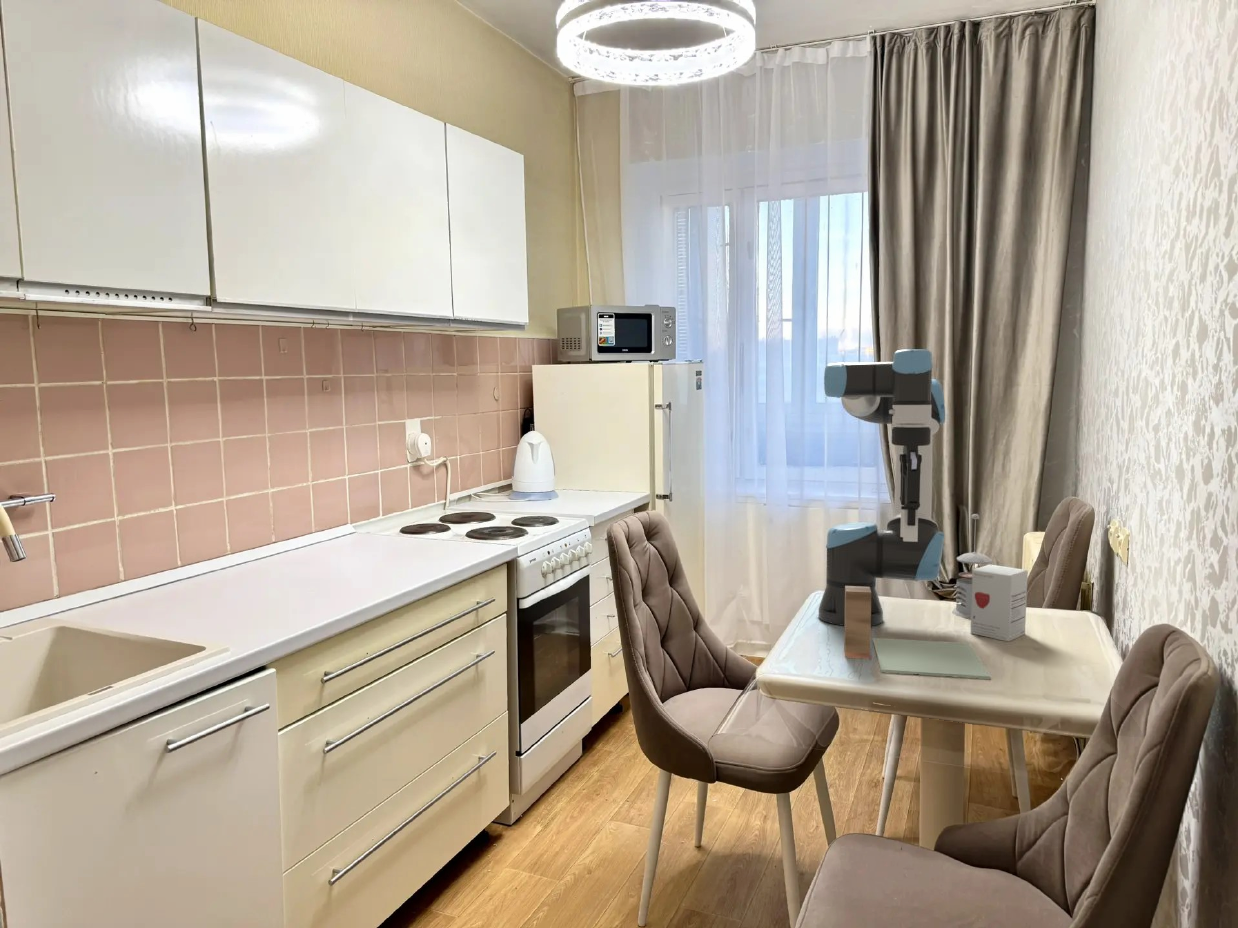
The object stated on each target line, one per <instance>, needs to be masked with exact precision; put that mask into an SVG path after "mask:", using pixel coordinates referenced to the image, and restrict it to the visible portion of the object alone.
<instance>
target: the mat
mask: <svg viewBox="0 0 1238 928" xmlns="http://www.w3.org/2000/svg"><path fill="white" fill-rule="evenodd" d="M872 642H873V646H874V651H875V654H876V659H877V661H878V662H877V663H878V665H879V669H880V673H881V672H888V673H887V674H897V673H899V674H901V675H913V674H919V675H918V676H931V677H945V676H953V677H952V678H960V677H963V679H976V678H978V679H980V680H981V679H982V680H991V677H992V676H991V674H989V672H988V670H987V668H986V667H985V665H984V664H983V663H982V660H981V659H980V658H979V656H978V654H977V653H976V652H975V650H974V649H973V647H972V645H971V644H970V643H969V642H952V641H935V640H934V641H933V640H915V639H897V638H880V637H872ZM899 674H898V675H899ZM955 676H956V677H955ZM964 677H965V678H964Z"/></svg>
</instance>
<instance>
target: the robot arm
mask: <svg viewBox="0 0 1238 928" xmlns="http://www.w3.org/2000/svg"><path fill="white" fill-rule="evenodd" d="M933 364H934V363H933V355H932V352H931V350H929V349H899V350H896V351H895V352H894V354H893V360H892V361H884V362H883V361H879V362H878V361H877V362H843V361H841V362H836V363H835V362H834V363H828V364H826V366H825V368H824V372H823V373H824V375H823V385H824V387H823V389H824V394H825V395H826V396H827V397H828V398H829V397H830V398H836V399H841V400H840V402H841V404H842V406H843V409H844V410H845V411H846V412H847V413H848V414H849V415H850V416H852V417H854V418H855V419H857V420H858V419H859V420H861V421H864V422H868V423H872V424H879V425H880V424H881V425H882V424H883V425H888V424H889V425H890V429H891V444H892V445H893V446H895V447H896V448H895V449H896V451H895V475H894V476H895V477H894V478H895V479H894V502H893V503H894V507H893V517H892V518H890V519H889V520H888V521H887V524H886V529H878V525H877V524H876V523H875V522H868V521H862V522H861V521H859V522H849V523H843V524H838V525H835V526H832V527H831V528H829V529H828V531H827V535H826V545H825V548H826V572H825V573H826V575H825V576H826V581H825V582H826V585H825V588H824V592H823V595H822V597H821V600H820V603H819V606H818V618H819V620H821V621H823V622H826V623H829V624H832V625H837V626H844V625H845V586H861V587H870V590H871V627H872V626H875V625H879V624H881V623H883V621H884V612H883V607H882V604H881V601H880V597H879V594H878V592H877V579H885V580H886V579H887V580H899V581H900V580H903V581H913V582H914V581H915V582H920V581H921V582H923V581H924V582H929V581H931V582H933V581H935V580H937V579H938V576H939V574H940V569H941V563H942V556H943V548H944V543H945V542H944V541H945V533H944V532H942V531H940V530H939V524H938V523H937V522H936V521H935V520H934V519H932V505H933V504H932V503H933V502H932V501H933V499H932V495H933V494H932V493H933V491H932V490H933V487H932V486H933V440H934V439H933V436H934V434H936V433H937V432H938V431H939V429H940V426H941V425H944V423H945V421H946V407H945V397H944V391H943V386H942V383H941V382H940V380H938V379H935V378H933V366H934V365H933Z"/></svg>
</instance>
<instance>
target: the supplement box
mask: <svg viewBox="0 0 1238 928" xmlns="http://www.w3.org/2000/svg"><path fill="white" fill-rule="evenodd" d="M975 568H976V569H974V568H973V569H972V572H973V573H972V572H971V573H972V605H971V618H970V634H973V635H977V636H982V637H986V638H990V639H995V640H1000V641H1004V642H1010V641H1013V640H1015V639H1018V638H1020V637H1021V636H1023V635H1025V634H1026V619H1027V618H1026V617H1027V614H1026V613H1027V598H1028V597H1027V594H1028V575H1029V574H1028V573H1029V570H1028V569H1023V568H1016V567H1010V566H1002V565H995V564H990V563H988V564H985V565H983V566H981V567H980V566H979V567H975Z"/></svg>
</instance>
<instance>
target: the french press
mask: <svg viewBox="0 0 1238 928" xmlns="http://www.w3.org/2000/svg"><path fill="white" fill-rule="evenodd" d="M970 517H971V519H972V520H974V535H973V536H974V539H973V544H974V545H973V552H965V553H963V554H961V555H959V556H957V557H956V560H957V562H960V563H963V564H970V565H973V569H976V568H977V567H975V566H976V565H988V564H990V563H992V562H993V559H991V558H990V557H989V556H987V555H985V554H983V553H979V552H977V551H976V529H977V528H976V527H977V520H980V518H981V517H980V515H979V514H978V513H973V514H971V516H970ZM972 573H973V571H971V572H970V571H965V572H964V571H963V572H959V573H958V577H959V578H958V579H956V600H955V601H956V605H955V608H954V609H952V611H951V613H952V614H953V615H955V616H958V617H961V616H962V617H961V618H965V617H966V618H967V619H971V605H972Z"/></svg>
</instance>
